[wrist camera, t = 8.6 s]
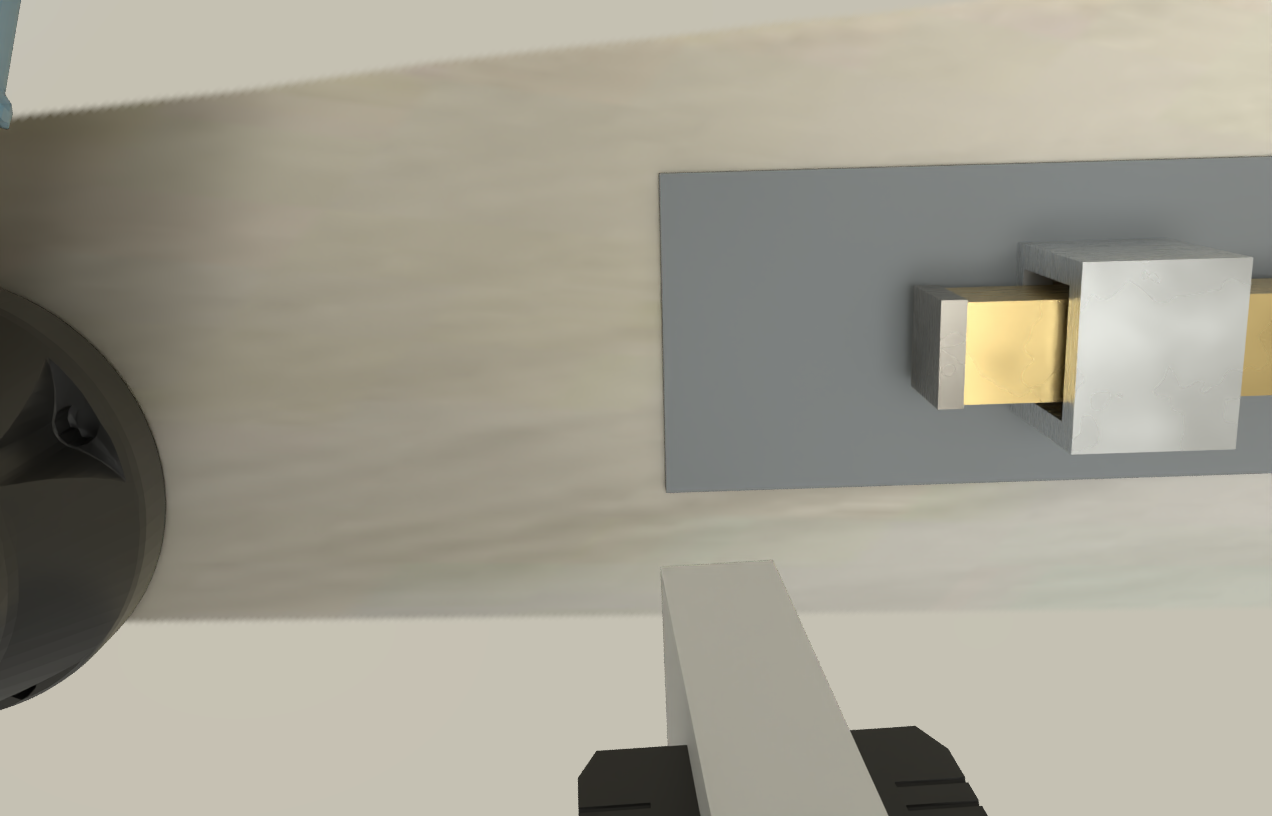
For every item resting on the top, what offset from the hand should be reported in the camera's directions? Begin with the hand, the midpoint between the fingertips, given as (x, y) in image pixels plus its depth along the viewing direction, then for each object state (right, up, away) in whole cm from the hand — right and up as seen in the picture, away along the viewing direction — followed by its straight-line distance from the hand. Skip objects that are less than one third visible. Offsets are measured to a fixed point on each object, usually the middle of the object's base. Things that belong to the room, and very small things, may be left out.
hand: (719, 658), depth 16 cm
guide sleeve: (+15, +6, +26) cm, 30 cm away
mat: (+15, +6, +26) cm, 30 cm away
